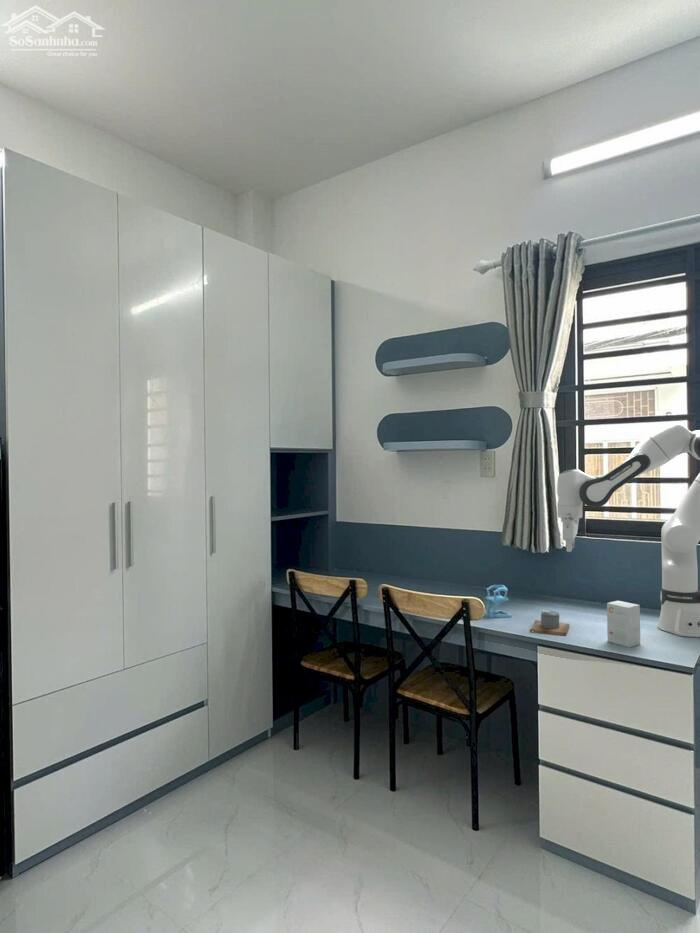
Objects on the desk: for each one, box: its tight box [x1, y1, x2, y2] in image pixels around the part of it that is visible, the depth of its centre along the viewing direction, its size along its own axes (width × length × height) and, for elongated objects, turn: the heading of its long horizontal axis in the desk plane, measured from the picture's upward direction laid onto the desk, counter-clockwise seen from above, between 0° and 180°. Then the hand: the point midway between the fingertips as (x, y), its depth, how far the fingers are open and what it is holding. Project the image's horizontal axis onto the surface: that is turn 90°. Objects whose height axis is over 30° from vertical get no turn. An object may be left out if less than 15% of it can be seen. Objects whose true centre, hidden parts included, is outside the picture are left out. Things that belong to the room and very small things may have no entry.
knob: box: [540, 610, 560, 629], centre depth 211 cm, size 6×6×5 cm
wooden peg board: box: [530, 620, 571, 637], centre depth 211 cm, size 12×12×4 cm
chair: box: [485, 584, 513, 619], centre depth 230 cm, size 8×8×12 cm
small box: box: [606, 600, 641, 648], centre depth 195 cm, size 8×6×13 cm
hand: (570, 549), depth 220 cm, fingers open, 8 cm apart
